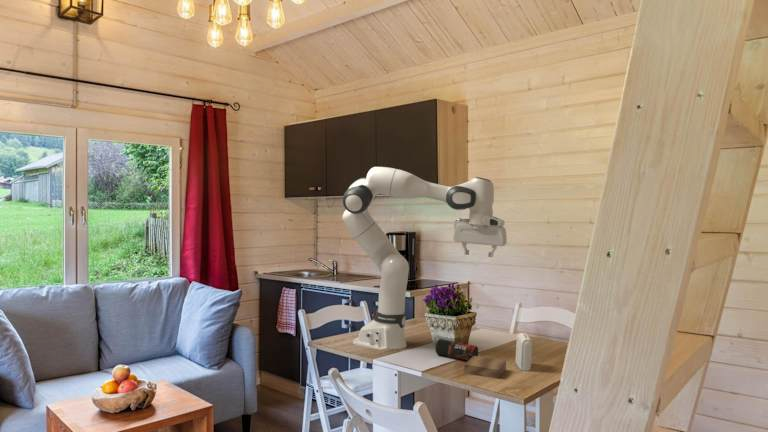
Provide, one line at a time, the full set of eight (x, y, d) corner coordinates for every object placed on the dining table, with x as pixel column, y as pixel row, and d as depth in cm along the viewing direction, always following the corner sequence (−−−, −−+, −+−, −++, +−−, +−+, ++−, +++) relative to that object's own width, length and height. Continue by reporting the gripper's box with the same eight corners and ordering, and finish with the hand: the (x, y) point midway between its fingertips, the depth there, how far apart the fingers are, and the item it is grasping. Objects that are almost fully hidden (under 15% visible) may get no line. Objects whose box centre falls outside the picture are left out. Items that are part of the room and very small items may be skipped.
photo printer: (513, 362, 219) (515, 330, 219) (525, 363, 219) (527, 330, 219) (519, 371, 209) (522, 337, 208) (531, 371, 209) (534, 337, 208)
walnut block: (464, 375, 203) (464, 364, 202) (473, 366, 214) (473, 355, 213) (498, 381, 198) (498, 370, 198) (505, 371, 209) (506, 360, 209)
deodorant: (478, 355, 221) (443, 348, 228) (477, 343, 219) (441, 336, 226) (473, 365, 216) (436, 357, 224) (471, 352, 214) (434, 344, 222)
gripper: (452, 218, 224) (450, 253, 225) (505, 222, 216) (502, 259, 217) (457, 217, 230) (455, 252, 231) (508, 221, 222) (506, 257, 222)
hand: (478, 255), depth 223 cm, fingers open, 8 cm apart
